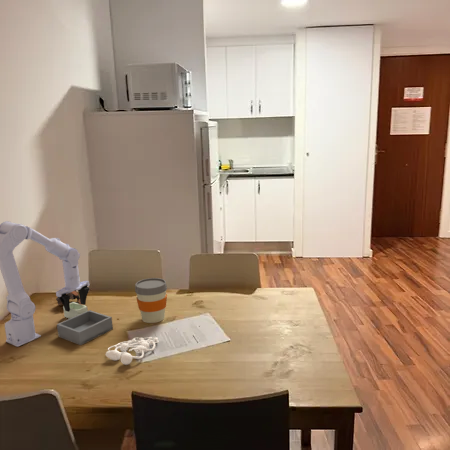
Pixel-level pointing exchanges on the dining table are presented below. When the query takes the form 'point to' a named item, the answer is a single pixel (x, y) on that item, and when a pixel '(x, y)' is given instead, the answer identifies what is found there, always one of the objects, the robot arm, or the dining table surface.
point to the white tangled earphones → (127, 357)
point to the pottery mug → (71, 297)
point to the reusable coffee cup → (151, 299)
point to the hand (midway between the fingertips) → (75, 307)
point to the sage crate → (75, 310)
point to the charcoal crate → (84, 327)
